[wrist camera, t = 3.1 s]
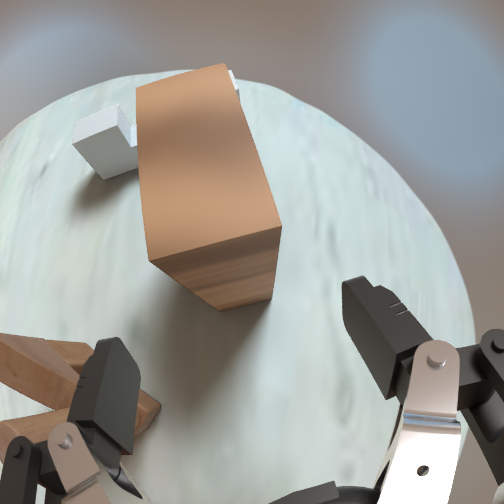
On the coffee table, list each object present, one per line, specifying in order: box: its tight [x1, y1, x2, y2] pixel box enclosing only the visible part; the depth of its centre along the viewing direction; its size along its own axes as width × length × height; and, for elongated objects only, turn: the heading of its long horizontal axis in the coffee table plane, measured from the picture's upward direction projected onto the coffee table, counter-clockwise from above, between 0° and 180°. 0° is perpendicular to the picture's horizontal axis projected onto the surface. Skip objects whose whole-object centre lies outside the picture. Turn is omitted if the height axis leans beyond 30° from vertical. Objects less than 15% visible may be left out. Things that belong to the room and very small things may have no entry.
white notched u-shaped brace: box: [72, 70, 240, 180], centre depth 30 cm, size 18×4×8 cm, turn 105°
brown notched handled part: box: [0, 333, 161, 464], centre depth 17 cm, size 4×11×18 cm, turn 59°
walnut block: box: [136, 63, 282, 312], centre depth 21 cm, size 10×5×18 cm, turn 15°
